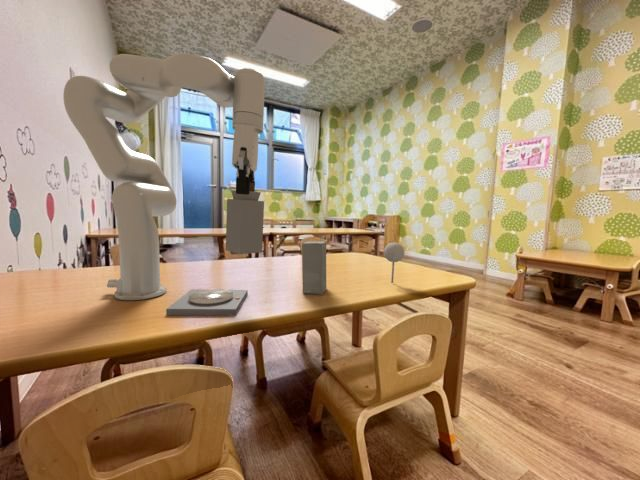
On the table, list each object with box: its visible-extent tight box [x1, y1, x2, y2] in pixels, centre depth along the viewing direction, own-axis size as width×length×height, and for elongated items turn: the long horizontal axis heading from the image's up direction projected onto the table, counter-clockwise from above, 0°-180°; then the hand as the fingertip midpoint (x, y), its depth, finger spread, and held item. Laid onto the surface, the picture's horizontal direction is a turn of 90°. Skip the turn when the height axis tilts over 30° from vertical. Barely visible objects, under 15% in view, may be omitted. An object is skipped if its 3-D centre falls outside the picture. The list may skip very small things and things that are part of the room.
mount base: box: [165, 288, 248, 316], centre depth 75 cm, size 16×16×2 cm
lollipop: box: [383, 241, 405, 284], centre depth 101 cm, size 7×7×15 cm
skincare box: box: [301, 240, 327, 296], centre depth 89 cm, size 8×7×16 cm
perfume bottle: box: [225, 182, 265, 255], centre depth 74 cm, size 7×7×18 cm
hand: (245, 194), depth 73 cm, fingers closed on perfume bottle, 7 cm apart
